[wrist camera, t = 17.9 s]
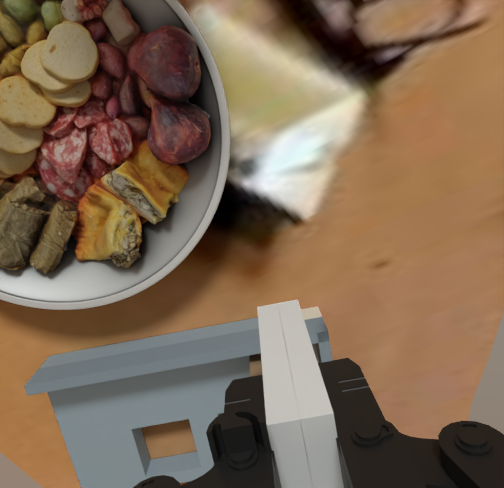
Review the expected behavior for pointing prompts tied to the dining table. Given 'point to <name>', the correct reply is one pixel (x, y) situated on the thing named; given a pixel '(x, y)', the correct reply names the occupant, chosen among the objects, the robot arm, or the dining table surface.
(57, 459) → the dining table surface
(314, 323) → the box
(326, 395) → the robot arm
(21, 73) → the bowl
